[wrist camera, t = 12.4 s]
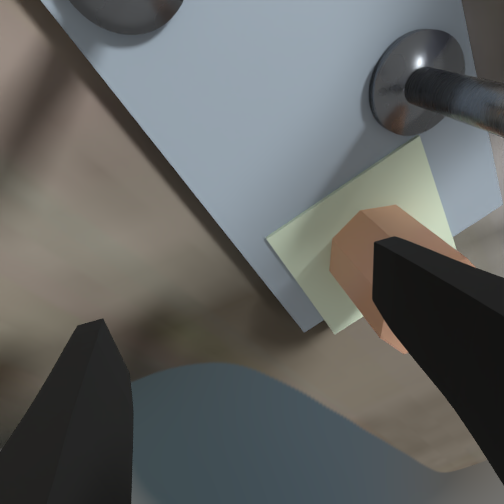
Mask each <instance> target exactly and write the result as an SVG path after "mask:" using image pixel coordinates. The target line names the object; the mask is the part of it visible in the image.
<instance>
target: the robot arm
mask: <svg viewBox="0 0 504 504" xmlns="http://www.w3.org/2000/svg"><path fill="white" fill-rule="evenodd" d="M372 300H373V302H374V304H375V306H376V307H377V309H378V311H379V312H380V314H381V316H382V317H383V319H384V320H385V322H386V324H387V325H388V327H389V328H390V330H391V331H392V332H393V334H394V335H395V336H396V337H397V339H398V340H399V341H400V342H401V344H402V345H403V346H404V347H405V349H406V350H407V351H408V352H409V354H410V355H411V356H412V357H413V358H414V360H415V361H416V362H417V363H418V365H419V366H420V367H421V368H422V369H423V371H424V372H425V373H426V374H427V375H428V377H429V378H430V379H431V380H432V382H433V383H434V384H435V385H436V386H437V388H438V389H439V390H440V391H441V392H442V394H443V395H444V396H445V398H446V399H447V400H448V402H449V403H450V404H451V406H452V407H453V408H454V409H455V411H456V412H457V414H458V415H459V417H460V418H461V420H462V421H463V423H464V424H465V426H466V427H467V429H468V430H469V432H470V433H471V435H472V436H473V438H474V439H475V441H476V442H477V444H478V445H479V447H480V448H481V450H482V452H483V453H484V455H485V456H486V458H487V459H488V461H489V463H490V464H491V466H492V467H493V469H494V471H495V472H496V474H497V475H498V477H499V478H500V480H501V482H502V483H503V485H504V278H503V277H500V276H497V275H494V274H491V273H488V272H486V271H483V270H480V269H478V268H475V267H473V266H470V265H467V264H465V263H462V262H460V261H457V260H455V259H452V258H450V257H447V256H445V255H442V254H440V253H437V252H435V251H433V250H430V249H428V248H425V247H423V246H420V245H418V244H415V243H413V242H410V241H407V240H405V239H402V238H399V237H396V236H393V237H389V238H386V239H382V240H379V241H375V242H374V254H373V285H372ZM132 453H133V402H132V391H131V382H130V373H129V371H128V369H127V367H126V365H125V363H124V361H123V359H122V357H121V355H120V353H119V350H118V348H117V346H116V344H115V342H114V340H113V338H112V336H111V334H110V332H109V330H108V328H107V326H106V324H105V321H104V319H99V320H96V321H92V322H89V323H85V324H81V325H78V326H77V328H76V329H75V331H74V332H73V334H72V336H71V338H70V339H69V341H68V343H67V345H66V346H65V348H64V350H63V352H62V353H61V355H60V357H59V359H58V361H57V362H56V364H55V366H54V368H53V369H52V371H51V373H50V374H49V376H48V378H47V380H46V381H45V383H44V385H43V386H42V388H41V390H40V391H39V393H38V395H37V396H36V398H35V400H34V401H33V403H32V404H31V406H30V408H29V409H28V411H27V412H26V414H25V415H24V417H23V418H22V420H21V421H20V423H19V424H18V426H17V427H16V429H15V430H14V432H13V434H12V435H11V437H10V438H9V440H8V441H7V443H6V444H5V446H4V447H3V448H2V450H1V451H0V504H131V490H132V489H131V488H132Z"/></svg>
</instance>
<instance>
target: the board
mask: <svg viewBox="0 0 504 504" xmlns="http://www.w3.org/2000/svg"><path fill="white" fill-rule="evenodd" d="M41 1H42V3H43V4H44V5H45V6H46V8H47V9H48V10H49V12H50V13H51V14H52V15H53V17H54V18H55V19H56V20H57V22H58V23H59V24H60V25H61V27H62V28H63V29H64V30H65V32H66V33H67V34H68V35H69V37H70V38H71V39H72V41H73V42H74V43H75V44H76V46H77V47H78V48H79V49H80V51H81V52H82V53H83V54H84V56H85V57H86V58H87V59H88V61H89V62H90V63H91V64H92V66H93V67H94V68H95V70H96V71H97V72H98V73H99V75H100V76H101V77H102V78H103V80H104V81H105V82H106V83H107V85H108V86H109V87H110V88H111V90H112V91H113V92H114V93H115V95H116V96H117V97H118V98H119V100H120V101H121V102H122V104H123V105H124V106H125V107H126V109H127V110H128V111H129V112H130V114H131V115H132V116H133V117H134V119H135V120H136V121H137V122H138V124H139V125H140V126H141V127H142V129H143V130H144V131H145V133H146V134H147V135H148V136H149V138H150V139H151V140H152V141H153V143H154V144H155V145H156V146H157V148H158V149H159V150H160V151H161V153H162V154H163V155H164V156H165V158H166V159H167V160H168V162H169V163H170V164H171V165H172V167H173V168H174V169H175V170H176V172H177V173H178V174H179V175H180V177H181V178H182V179H183V180H184V182H185V183H186V184H187V185H188V187H189V188H190V189H191V191H192V192H193V193H194V194H195V196H196V197H197V198H198V199H199V201H200V202H201V203H202V204H203V206H204V207H205V208H206V209H207V211H208V212H209V213H210V214H211V216H212V217H213V218H214V220H215V221H216V222H217V223H218V225H219V226H220V227H221V228H222V230H223V231H224V232H225V233H226V235H227V236H228V237H229V238H230V240H231V241H232V242H233V243H234V245H235V246H236V247H237V248H238V250H239V251H240V252H241V254H242V255H243V256H244V257H245V259H246V260H247V261H248V262H249V264H250V265H251V266H252V267H253V269H254V270H255V271H256V272H257V274H258V275H259V276H260V277H261V279H262V280H263V281H264V283H265V284H266V285H267V286H268V288H269V289H270V290H271V291H272V293H273V294H274V295H275V296H276V298H277V299H278V300H279V301H280V303H281V304H282V305H283V306H284V308H285V309H286V310H287V312H288V313H289V314H290V315H291V317H292V318H293V319H294V320H295V322H296V323H297V324H298V325H299V327H300V328H301V329H302V330H303V332H306V331H308V330H309V329H311V328H312V327H314V326H315V325H317V324H318V323H320V322H322V321H323V320H324V319H323V317H322V316H321V315H320V313H319V312H318V310H317V309H316V308H315V306H314V305H313V303H312V302H311V301H310V299H309V298H308V296H307V295H306V294H305V292H304V291H303V289H302V288H301V287H300V285H299V284H298V283H297V281H296V280H295V278H294V277H293V276H292V274H291V273H290V271H289V270H288V269H287V267H286V266H285V264H284V263H283V262H282V260H281V259H280V257H279V256H278V255H277V253H276V252H275V250H274V249H273V248H272V246H271V245H270V243H269V242H268V241H267V239H266V238H265V237H267V236H268V235H270V234H271V233H273V232H274V231H276V230H277V229H279V228H280V227H282V226H283V225H285V224H286V223H288V222H289V221H290V220H292V219H293V218H295V217H296V216H298V215H299V214H301V213H302V212H304V211H305V210H307V209H308V208H310V207H311V206H313V205H314V204H316V203H317V202H319V201H320V200H322V199H323V198H324V197H326V196H327V195H329V194H330V193H332V192H333V191H335V190H336V189H338V188H339V187H341V186H342V185H344V184H345V183H347V182H348V181H350V180H351V179H353V178H354V177H356V176H357V175H358V174H360V173H361V172H363V171H364V170H366V169H367V168H369V167H370V166H372V165H373V164H375V163H376V162H378V161H379V160H381V159H382V158H384V157H385V156H387V155H388V154H390V153H391V152H392V151H394V150H395V149H397V148H398V147H400V146H401V145H403V144H404V143H406V142H407V141H409V140H410V139H412V138H413V137H415V136H416V135H413V136H402V135H398V134H395V133H393V132H391V131H389V130H387V129H385V128H383V127H382V126H381V125H380V124H379V123H378V122H377V121H376V120H375V118H374V116H373V114H372V112H371V109H370V105H369V84H370V79H371V76H372V73H373V70H374V68H375V66H376V64H377V62H378V60H379V58H380V57H381V55H382V54H383V52H384V51H385V50H386V49H387V48H388V46H389V45H390V44H391V43H393V42H394V41H395V40H396V39H397V38H399V37H400V36H402V35H404V34H405V33H408V32H410V31H413V30H416V29H435V30H441V31H444V32H447V33H449V34H450V35H451V36H453V37H454V38H455V39H456V40H457V42H458V43H459V45H460V47H461V49H462V51H463V55H464V60H465V75H468V76H472V77H477V75H476V70H475V65H474V60H473V55H472V50H471V45H470V40H469V35H468V30H467V25H466V20H465V15H464V10H463V6H462V1H461V0H184V1H183V3H182V5H181V6H180V8H179V10H178V11H177V13H176V14H175V15H174V16H173V17H172V18H171V19H170V20H169V21H168V22H167V23H166V24H164V25H163V26H161V27H160V28H158V29H156V30H154V31H151V32H148V33H145V34H139V35H124V34H118V33H114V32H111V31H108V30H106V29H104V28H101V27H99V26H98V25H96V24H94V23H93V22H91V21H90V20H88V19H87V18H86V17H84V16H83V15H82V14H81V13H80V12H79V11H78V10H77V9H76V8H75V7H74V6H73V5H72V4H71V2H70V1H69V0H41ZM418 135H419V136H420V138H421V141H422V144H423V147H424V150H425V154H426V157H427V160H428V163H429V166H430V169H431V172H432V175H433V178H434V181H435V185H436V188H437V191H438V194H439V197H440V200H441V203H442V206H443V209H444V212H445V216H446V219H447V222H448V225H449V228H450V231H451V234H452V237H453V236H455V235H456V234H458V233H460V232H461V231H463V230H464V229H466V228H467V227H469V226H470V225H472V224H474V223H475V222H477V221H478V220H480V219H481V218H483V217H484V216H486V215H487V214H489V213H491V212H492V211H494V210H495V209H497V208H498V207H500V206H501V205H503V203H502V198H501V193H500V188H499V183H498V178H497V173H496V168H495V163H494V158H493V153H492V148H491V144H490V139H489V134H488V132H487V131H484V130H481V129H479V128H476V127H473V126H470V125H468V124H465V123H462V122H459V121H457V120H454V119H451V118H448V117H446V116H445V117H444V118H443V119H442V120H441V121H440V122H439V123H438V124H437V125H435V126H434V127H433V128H431V129H429V130H428V131H425V132H423V133H421V134H418Z"/></svg>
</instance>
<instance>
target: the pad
mask: <svg viewBox="0 0 504 504" xmlns="http://www.w3.org/2000/svg"><path fill="white" fill-rule="evenodd" d="M390 205H397V206H398V207H400V208H401V209H402V210H404V211H405V212H406V213H408V214H409V215H410V216H412V217H413V218H414V219H416V220H417V221H418V222H420V223H421V224H422V225H424V226H425V227H426V228H428V229H429V230H430V231H432V232H433V233H434V234H436V235H437V236H438V237H440V238H441V239H442V240H444V241H445V242H446V243H448V244H449V245H450V246H452V247H453V248H454V249H456V247H455V243H454V240H453V237H452V234H451V231H450V228H449V225H448V222H447V219H446V216H445V212H444V209H443V206H442V203H441V200H440V197H439V194H438V191H437V188H436V185H435V181H434V178H433V175H432V172H431V169H430V166H429V163H428V160H427V157H426V154H425V150H424V147H423V144H422V141H421V138H420V136H419V135H416V136H415V137H413V138H412V139H410V140H409V141H407V142H406V143H404V144H403V145H401V146H400V147H398V148H397V149H395V150H394V151H392V152H391V153H390V154H388V155H387V156H385V157H384V158H382V159H381V160H379V161H378V162H376V163H375V164H373V165H372V166H370V167H369V168H367V169H366V170H364V171H363V172H361V173H360V174H358V175H357V176H356V177H354V178H353V179H351V180H350V181H348V182H347V183H345V184H344V185H342V186H341V187H339V188H338V189H336V190H335V191H333V192H332V193H330V194H329V195H327V196H326V197H324V198H323V199H322V200H320V201H319V202H317V203H316V204H314V205H313V206H311V207H310V208H308V209H307V210H305V211H304V212H302V213H301V214H299V215H298V216H296V217H295V218H293V219H292V220H290V221H289V222H288V223H286V224H285V225H283V226H282V227H280V228H279V229H277V230H276V231H274V232H273V233H271V234H270V235H268V236H267V237H265V238H266V239H267V241H268V242H269V243H270V245H271V246H272V248H273V249H274V250H275V252H276V253H277V255H278V256H279V257H280V259H281V260H282V262H283V263H284V264H285V266H286V267H287V269H288V270H289V271H290V273H291V274H292V276H293V277H294V278H295V280H296V281H297V283H298V284H299V285H300V287H301V288H302V289H303V291H304V292H305V294H306V295H307V296H308V298H309V299H310V301H311V302H312V303H313V305H314V306H315V308H316V309H317V310H318V312H319V313H320V315H321V316H322V317H323V319H324V320H325V322H326V323H327V324H328V326H329V327H330V329H331V330H332V331H333V333H334V334H336V333H338V332H340V331H341V330H343V329H344V328H346V327H347V326H349V325H350V324H352V323H354V322H355V321H357V320H358V319H360V318H361V317H363V315H362V313H361V312H360V311H359V309H358V308H357V307H356V305H355V304H354V303H353V301H352V300H351V299H350V298H349V296H348V295H347V294H346V292H345V291H344V290H343V288H342V287H341V286H340V284H339V283H338V282H337V280H336V279H335V278H334V276H333V275H332V274H331V272H330V271H329V268H330V257H331V246H332V238H333V237H334V236H335V235H336V234H337V233H338V232H339V231H340V230H341V229H342V228H343V227H344V226H345V225H346V224H347V223H348V222H349V221H350V220H351V219H352V218H353V217H354V216H355V215H356V214H357V213H358V212H359V211H360V210H365V209H371V208H378V207H384V206H390Z"/></svg>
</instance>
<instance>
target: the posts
mask: <svg viewBox="0 0 504 504" xmlns="http://www.w3.org/2000/svg"><path fill="white" fill-rule="evenodd" d="M69 1H70V2H71V4H72V5H73V6H74V7H75V8H76V9H77V10H78V11H79V12H80V13H81V14H82V15H83V16H84V17H86V18H87V19H88V20H90V21H91V22H93V23H94V24H96V25H98V26H99V27H101V28H104V29H106V30H108V31H111V32H114V33H118V34H124V35H139V34H145V33H148V32H151V31H154V30H156V29H158V28H160V27H161V26H163V25H164V24H166V23H167V22H168V21H169V20H170V19H171V18H172V17H173V16H174V15H175V14H176V13H177V11H178V10H179V8H180V6H181V5H182V3H183V1H184V0H69ZM369 105H370V109H371V112H372V114H373V116H374V118H375V120H376V121H377V122H378V123H379V124H380V125H381V126H382V127H383V128H385V129H387V130H389V131H391V132H393V133H395V134H398V135H402V136H413V135H418V134H421V133H423V132H425V131H428V130H429V129H431V128H433V127H434V126H435V125H437V124H438V123H439V122H440V121H441V120H442V119H443V118H444V117H445V116H446V117H448V118H451V119H454V120H457V121H459V122H462V123H465V124H468V125H470V126H473V127H476V128H479V129H481V130H484V131H487V132H490V133H492V134H495V135H498V136H501V137H503V138H504V83H500V82H495V81H491V80H486V79H482V78H477V77H472V76H468V75H465V60H464V55H463V51H462V49H461V47H460V45H459V43H458V42H457V40H456V39H455V38H454V37H453V36H451V35H450V34H449V33H447V32H444V31H441V30H435V29H416V30H413V31H410V32H408V33H405V34H404V35H402V36H400V37H399V38H397V39H396V40H395V41H394V42H393V43H391V44H390V45H389V46H388V48H387V49H386V50H385V51H384V52H383V54H382V55H381V57H380V58H379V60H378V62H377V64H376V66H375V68H374V70H373V73H372V76H371V79H370V84H369Z"/></svg>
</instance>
